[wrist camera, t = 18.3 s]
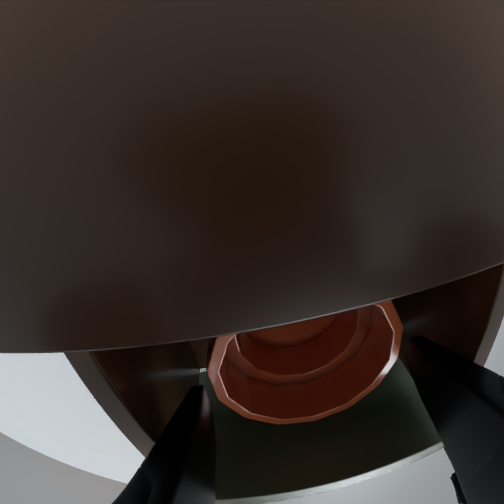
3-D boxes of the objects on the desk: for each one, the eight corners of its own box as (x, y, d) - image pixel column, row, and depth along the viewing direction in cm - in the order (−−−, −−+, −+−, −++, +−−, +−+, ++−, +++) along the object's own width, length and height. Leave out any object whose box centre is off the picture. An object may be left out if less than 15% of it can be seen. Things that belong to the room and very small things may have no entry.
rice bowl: (356, 213, 11) (412, 257, 7) (356, 338, 14) (388, 399, 10) (194, 243, 11) (180, 305, 7) (230, 365, 14) (234, 435, 10)
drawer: (381, 393, 18) (422, 479, 11) (210, 429, 18) (211, 527, 11) (397, 102, 10) (547, 108, 3) (105, 147, 10) (-37, 191, 3)
